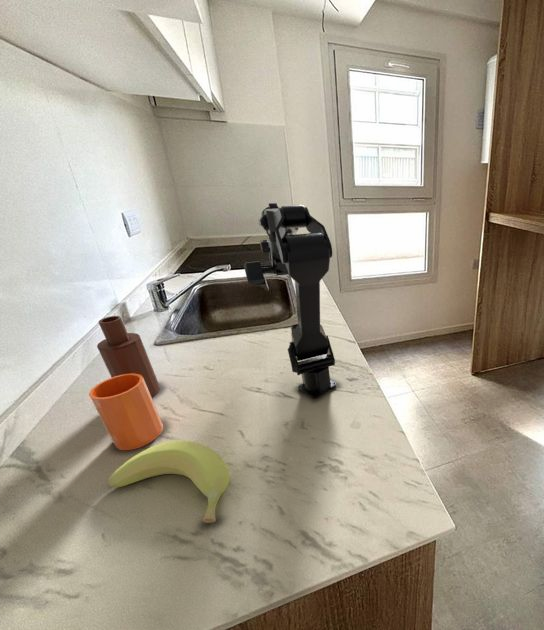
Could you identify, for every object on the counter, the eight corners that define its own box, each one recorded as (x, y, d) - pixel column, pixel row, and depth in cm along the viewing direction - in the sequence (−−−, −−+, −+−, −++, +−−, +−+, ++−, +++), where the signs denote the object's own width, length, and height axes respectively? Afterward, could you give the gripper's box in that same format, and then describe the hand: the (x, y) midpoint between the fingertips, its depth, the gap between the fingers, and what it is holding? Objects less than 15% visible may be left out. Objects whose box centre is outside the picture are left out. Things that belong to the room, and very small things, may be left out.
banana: (183, 412, 60) (239, 483, 50) (198, 428, 64) (253, 497, 54) (95, 473, 52) (140, 571, 42) (118, 487, 56) (164, 580, 46)
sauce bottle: (165, 391, 76) (136, 318, 68) (128, 408, 71) (92, 330, 63) (153, 381, 80) (124, 309, 72) (118, 395, 75) (82, 320, 67)
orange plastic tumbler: (169, 432, 65) (149, 383, 60) (122, 456, 60) (96, 405, 55) (154, 416, 69) (134, 368, 64) (109, 438, 64) (83, 388, 58)
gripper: (311, 225, 92) (310, 263, 104) (236, 231, 83) (244, 271, 96) (322, 255, 87) (319, 290, 99) (244, 264, 79) (251, 301, 91)
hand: (284, 287), depth 97 cm, fingers open, 9 cm apart
